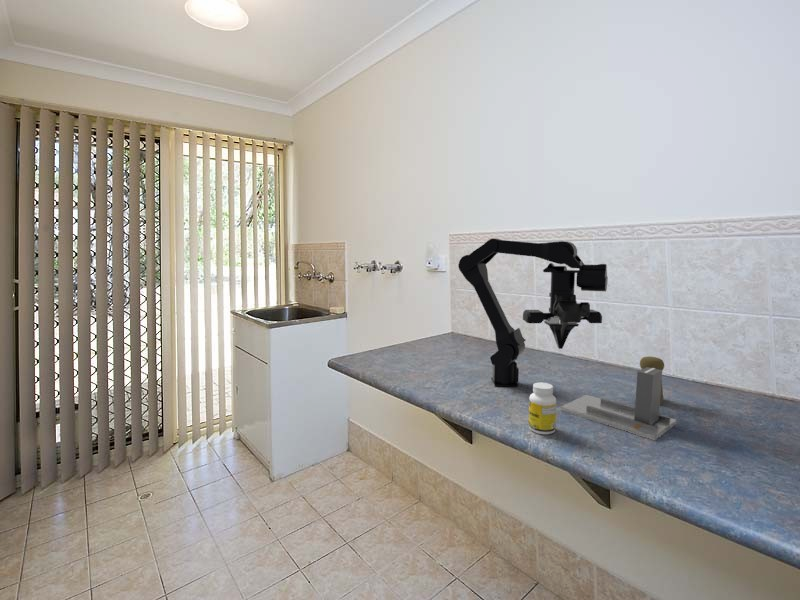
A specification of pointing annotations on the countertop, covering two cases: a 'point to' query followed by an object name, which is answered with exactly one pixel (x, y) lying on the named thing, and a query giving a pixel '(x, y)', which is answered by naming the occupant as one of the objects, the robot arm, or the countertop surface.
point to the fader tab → (648, 395)
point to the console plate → (617, 416)
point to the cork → (653, 363)
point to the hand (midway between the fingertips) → (560, 348)
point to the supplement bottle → (542, 409)
